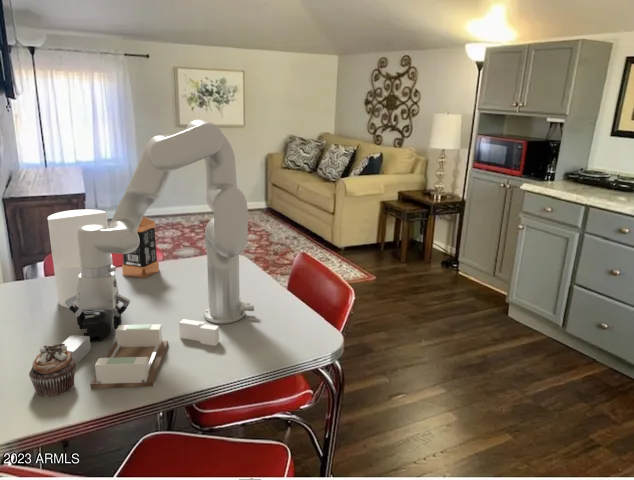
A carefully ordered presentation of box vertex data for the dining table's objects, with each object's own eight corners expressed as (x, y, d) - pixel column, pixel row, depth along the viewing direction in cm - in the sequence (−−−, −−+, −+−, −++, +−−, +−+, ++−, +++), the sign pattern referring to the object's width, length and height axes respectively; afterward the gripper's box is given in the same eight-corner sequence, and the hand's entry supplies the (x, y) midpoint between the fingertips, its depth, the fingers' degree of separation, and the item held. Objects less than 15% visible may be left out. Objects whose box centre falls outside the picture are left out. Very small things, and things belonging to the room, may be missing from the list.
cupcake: (30, 382, 115) (24, 344, 112) (75, 371, 120) (71, 335, 117) (32, 404, 107) (26, 364, 104) (81, 391, 112) (76, 353, 109)
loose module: (90, 349, 130) (89, 336, 129) (75, 365, 123) (73, 351, 122) (72, 348, 131) (70, 335, 129) (56, 364, 123) (54, 350, 122)
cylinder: (51, 295, 162) (41, 213, 154) (105, 283, 173) (97, 207, 165) (67, 313, 150) (56, 225, 142) (123, 299, 161) (116, 217, 153)
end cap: (112, 341, 135) (110, 318, 133) (84, 344, 132) (81, 321, 130) (114, 325, 144) (112, 304, 142) (87, 327, 141) (85, 306, 140)
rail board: (168, 344, 134) (167, 340, 134) (152, 386, 115) (152, 382, 115) (115, 345, 132) (114, 341, 132) (90, 388, 113) (90, 384, 113)
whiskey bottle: (160, 270, 188) (155, 188, 179) (144, 279, 179) (138, 193, 170) (137, 266, 191) (131, 186, 182) (120, 275, 182) (113, 190, 173)
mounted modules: (162, 340, 133) (161, 323, 132) (145, 382, 114) (144, 362, 113) (120, 341, 132) (119, 324, 131) (97, 383, 113) (94, 364, 112)
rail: (161, 340, 133) (161, 338, 133) (145, 382, 114) (145, 379, 114) (121, 341, 132) (120, 339, 132) (97, 383, 113) (97, 380, 113)
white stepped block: (169, 337, 139) (168, 319, 137) (206, 327, 146) (205, 309, 144) (192, 360, 128) (191, 340, 126) (230, 347, 135) (230, 329, 133)
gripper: (132, 266, 137) (135, 321, 142) (67, 264, 135) (72, 321, 140) (125, 275, 130) (128, 333, 135) (56, 274, 128) (62, 333, 133)
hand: (100, 327), depth 137 cm, fingers open, 8 cm apart
